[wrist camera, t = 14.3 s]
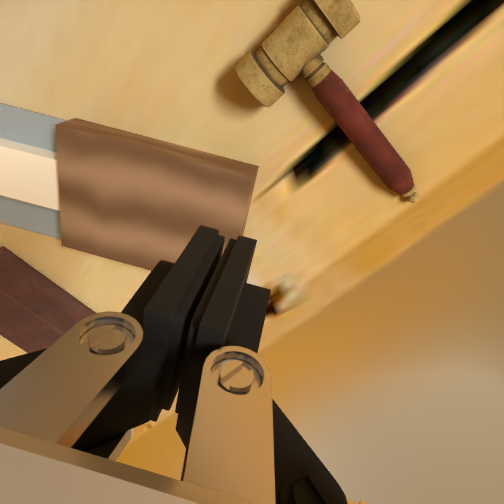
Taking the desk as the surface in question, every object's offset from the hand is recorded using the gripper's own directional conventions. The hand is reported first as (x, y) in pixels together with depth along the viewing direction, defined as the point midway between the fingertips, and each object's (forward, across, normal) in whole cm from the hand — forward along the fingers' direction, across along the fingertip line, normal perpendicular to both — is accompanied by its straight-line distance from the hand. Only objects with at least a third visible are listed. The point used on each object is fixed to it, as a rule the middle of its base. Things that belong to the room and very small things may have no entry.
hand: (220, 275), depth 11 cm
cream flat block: (+29, +27, +13) cm, 41 cm away
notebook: (+30, +28, +37) cm, 55 cm away
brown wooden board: (+29, +12, +13) cm, 34 cm away
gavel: (+30, -6, -1) cm, 30 cm away
